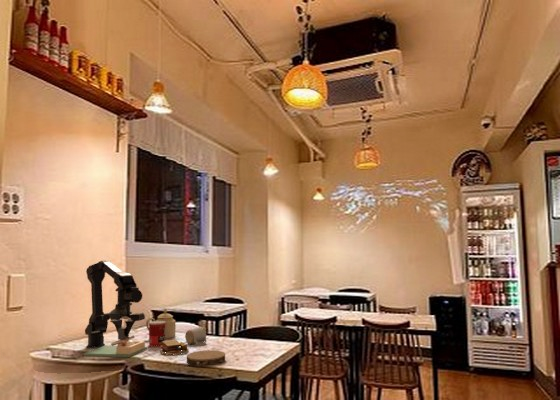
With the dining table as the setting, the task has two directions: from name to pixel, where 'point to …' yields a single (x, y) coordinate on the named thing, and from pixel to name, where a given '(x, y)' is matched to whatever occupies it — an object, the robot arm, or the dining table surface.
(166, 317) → the cream teapot
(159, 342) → the canned food
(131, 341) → the ball
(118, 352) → the pitch
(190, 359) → the brown round disc
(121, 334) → the kicker rod
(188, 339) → the ceramic mug
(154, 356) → the dining table surface
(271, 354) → the dining table surface
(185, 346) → the toy sandwich meal
